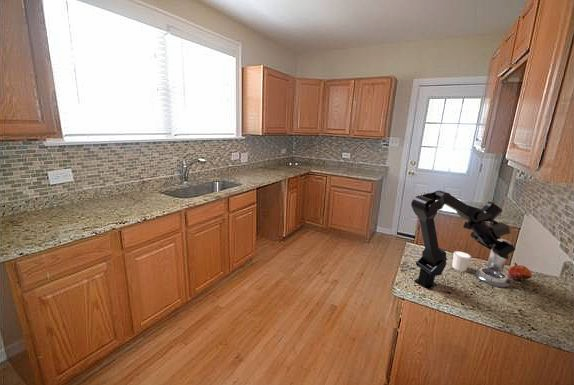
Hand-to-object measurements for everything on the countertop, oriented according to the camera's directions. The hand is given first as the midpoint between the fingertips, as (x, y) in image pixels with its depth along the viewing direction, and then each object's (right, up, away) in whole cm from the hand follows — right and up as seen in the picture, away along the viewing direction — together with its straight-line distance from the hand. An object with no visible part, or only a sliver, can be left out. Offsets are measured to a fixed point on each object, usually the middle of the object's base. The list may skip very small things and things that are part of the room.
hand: (501, 255), depth 111 cm
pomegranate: (+10, -12, +3) cm, 16 cm away
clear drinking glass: (-2, -6, +2) cm, 7 cm away
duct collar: (-2, -11, +3) cm, 12 cm away
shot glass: (-11, -9, +12) cm, 18 cm away
